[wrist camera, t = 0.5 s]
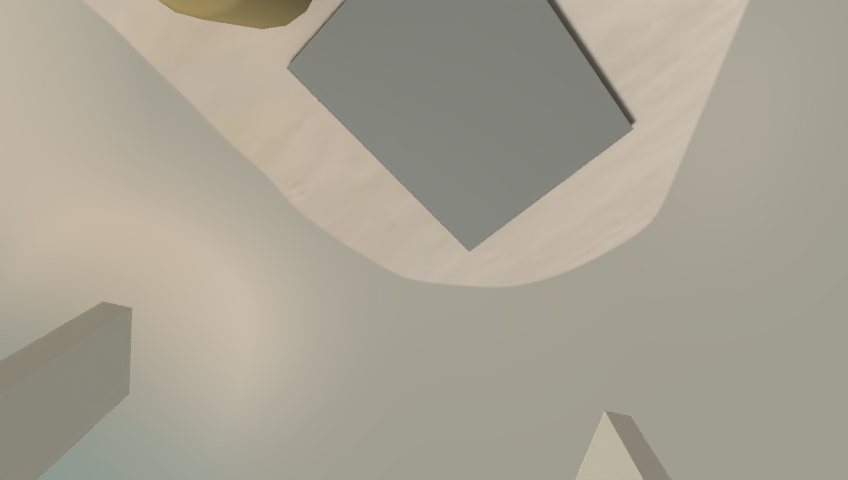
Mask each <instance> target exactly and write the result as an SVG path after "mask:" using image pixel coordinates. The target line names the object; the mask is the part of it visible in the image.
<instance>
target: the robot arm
mask: <svg viewBox="0 0 848 480" xmlns="http://www.w3.org/2000/svg"><path fill="white" fill-rule="evenodd" d="M131 321H132V308H130V307H125V306H121V305H116V304H111V303H107V302H101V303H100V304H98V305H96V306H95V307H93V308H91V309H90V310H88V311H86V312H84V313H82V314H81V315H79V316H77V317H76V318H74V319H72V320H70V321H69V322H67V323H65V324H64V325H62V326H60V327H59V328H57V329H55V330H53V331H52V332H50V333H48V334H46V335H45V336H43V337H41V338H39V339H38V340H36V341H34V342H33V343H31V344H29V345H28V346H26V347H24V348H22V349H21V350H19V351H17V352H15V353H14V354H12V355H10V356H8V357H7V358H5V359H3V360H1V361H0V480H37V479H38V478H39V477H40V476H41V475H42V474H43V473H44V472H45V471H46V470H48V469H49V468H50V467H51V466H52V465H53V464H54V463H55V462H56V461H57V460H58V459H59V458H61V457H62V456H63V455H64V454H65V453H66V452H67V451H68V450H69V449H70V448H71V447H72V446H73V445H75V444H76V442H78V441H79V440H80V439H81V438H82V437H83V436H84V435H85V434H86V433H87V432H88V431H90V430H91V429H92V428H93V427H94V426H95V425H96V424H97V423H98V422H99V421H100V420H101V419H102V418H103V417H105V416H106V415H107V414H108V413H109V412H110V411H111V410H112V409H113V408H114V407H115V406H116V405H118V404H119V403H120V402H121V401H122V400H123V399H124V398H125V397H126V396H127V395H128V394H129V378H130V351H131ZM575 480H671V479H670V477H669V476H668V474H667V473H666V471H665V469H664V468H663V466H662V464H661V463H660V462H659V460H658V458H657V457H656V455H655V454H654V452H653V450H652V449H651V447H650V446H649V444H648V442H647V441H646V439H645V438H644V436H643V435H642V433H641V432H640V430H639V428H638V427H637V425H636V424H635V422H634V420H633V419H632V417H631V416H627V415H622V414H617V413H613V412H608V411H604V414H603V416H602V418H601V421H600V423H599V425H598V428H597V430H596V432H595V435H594V437H593V439H592V442H591V444H590V446H589V449H588V451H587V454H586V456H585V458H584V460H583V463H582V465H581V467H580V470H579V472H578V474H577V477H576V479H575Z"/></svg>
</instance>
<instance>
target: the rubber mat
mask: <svg viewBox="0 0 848 480" xmlns="http://www.w3.org/2000/svg"><path fill="white" fill-rule="evenodd" d="M287 69H288V70H289V71H290V72H291V73H292V74H293V75H294V76H295V77H296V78H297V79H298V80H299V81H300V82H301V83H302V84H303V85H304V86H305V87H306V88H307V89H308V90H309V91H310V92H311V93H312V94H313V95H314V96H315V97H316V98H317V99H318V100H319V101H320V102H321V103H322V104H323V105H324V106H325V107H326V108H327V109H328V110H329V111H330V112H331V113H332V114H333V115H334V116H335V117H336V118H337V119H338V120H339V121H340V122H341V123H342V124H343V125H344V126H345V127H346V128H347V129H348V130H349V131H350V132H351V133H352V134H353V135H354V136H355V137H356V138H357V139H358V140H359V141H360V142H361V143H362V144H363V145H364V146H365V147H366V148H367V149H368V150H369V151H370V152H371V153H372V154H373V155H374V156H375V157H376V158H377V159H378V160H379V161H380V162H381V163H382V164H383V165H384V166H385V167H386V168H387V170H388V171H389V172H390V173H391V174H392V175H393V176H394V177H395V178H396V179H397V180H398V181H399V182H400V183H401V184H402V185H403V186H404V187H405V188H406V189H407V190H408V191H409V192H410V193H411V194H412V195H413V196H414V197H415V198H416V199H417V200H418V201H419V202H420V203H421V204H422V205H423V206H424V207H425V208H426V209H427V210H428V211H429V212H430V213H431V214H432V215H433V216H434V217H435V218H436V219H437V220H438V221H439V222H440V223H441V224H442V225H443V226H444V227H445V228H446V229H447V230H448V231H449V232H450V233H451V234H452V235H453V236H454V237H455V238H456V239H457V240H458V241H459V242H460V243H461V244H462V245H463V246H464V247H465V248H466V249H467V250H468V251H469V252H470V251H471V250H472V249H474V248H475V247H476V246H478V245H479V244H480V243H482V242H483V241H484V240H486V239H487V238H488V237H490V236H491V235H492V234H494V233H495V232H496V231H498V230H499V229H500V228H502V227H503V226H504V225H506V224H507V223H508V222H510V221H511V220H512V219H514V218H515V217H516V216H518V215H519V214H520V213H522V212H523V211H524V210H526V209H527V208H528V207H530V206H531V205H532V204H534V203H535V202H536V201H538V200H539V199H540V198H542V197H543V196H544V195H546V194H547V193H548V192H550V191H551V190H552V189H554V188H555V187H556V186H558V185H559V184H560V183H562V182H563V181H564V180H566V179H567V178H568V177H570V176H571V175H572V174H574V173H575V172H576V171H578V170H579V169H580V168H582V167H583V166H584V165H586V164H587V163H588V162H590V161H591V160H593V159H594V158H595V157H597V156H598V155H599V154H601V153H602V152H603V151H605V150H606V149H607V148H609V147H610V146H611V145H613V144H614V143H615V142H617V141H618V140H619V139H621V138H622V137H623V136H625V135H626V134H627V133H629V132H630V131H631V130H633V128H632V126H631V125H630V123H629V122H628V120H627V119H626V117H625V116H624V114H623V113H622V111H621V110H620V108H619V107H618V105H617V104H616V102H615V101H614V99H613V98H612V96H611V95H610V93H609V92H608V90H607V89H606V87H605V86H604V84H603V83H602V81H601V80H600V78H599V77H598V76H597V74H596V73H595V71H594V70H593V68H592V67H591V65H590V64H589V62H588V61H587V59H586V58H585V56H584V55H583V53H582V52H581V50H580V49H579V47H578V46H577V44H576V43H575V41H574V40H573V38H572V37H571V35H570V34H569V32H568V31H567V29H566V28H565V27H564V25H563V24H562V22H561V21H560V19H559V18H558V16H557V15H556V13H555V12H554V10H553V9H552V7H551V6H550V4H549V3H548V1H547V0H346V1H345V2H344V3H343V4H342V6H341V7H340V8H339V9H338V10H337V11H336V12H335V13H334V15H333V16H332V17H331V18H330V19H329V20H328V21H327V23H326V24H325V25H324V26H323V27H322V28H321V29H320V30H319V32H318V33H317V34H316V35H315V36H314V37H313V38H312V39H311V41H310V42H309V43H308V44H307V45H306V46H305V47H304V49H303V50H302V51H301V52H300V53H299V54H298V55H297V56H296V58H295V59H294V60H293V61H292V62H291V63H290V64H289V65H288V67H287Z"/></svg>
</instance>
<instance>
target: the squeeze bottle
mask: <svg viewBox="0 0 848 480" xmlns="http://www.w3.org/2000/svg"><path fill="white" fill-rule="evenodd" d="M159 1H160V2H162V3H163V4H164V5H166V6H167V7H169V8H170V9H172V10H173V11H174V12H177V13H181V14H185V15H188V16H192V17H196V18H199V19H203V20H209V21H215V22H221V23H228V24H234V25H240V26H246V27H252V28H259V29H266V28H272V27H279V26H285V25H287V24H289V23H290V22H292V21H293V20H294V19H296V18H297V17H298V16H300V15H301V14H303V13H304V12H305V11H306V10H307V8H308V7H309V5H310V3H311V1H312V0H159Z"/></svg>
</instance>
